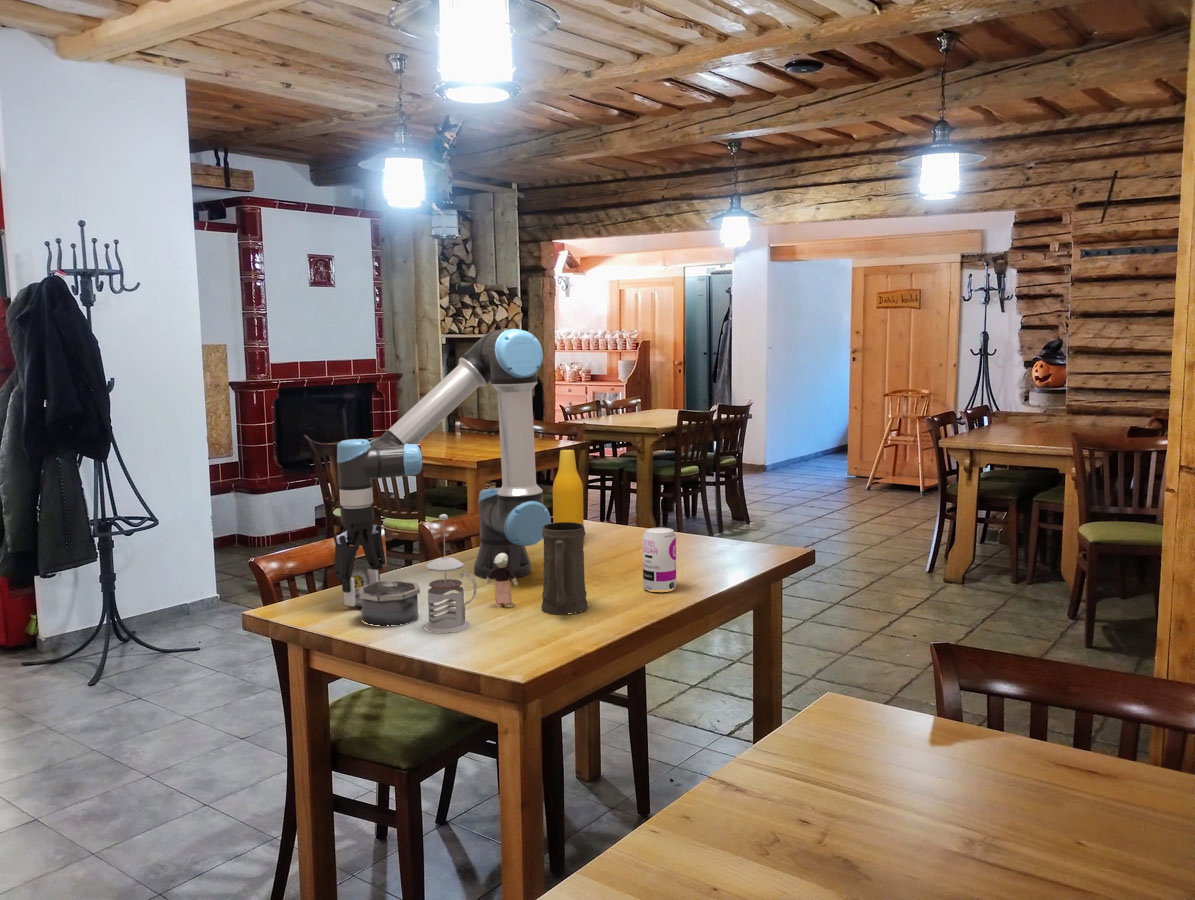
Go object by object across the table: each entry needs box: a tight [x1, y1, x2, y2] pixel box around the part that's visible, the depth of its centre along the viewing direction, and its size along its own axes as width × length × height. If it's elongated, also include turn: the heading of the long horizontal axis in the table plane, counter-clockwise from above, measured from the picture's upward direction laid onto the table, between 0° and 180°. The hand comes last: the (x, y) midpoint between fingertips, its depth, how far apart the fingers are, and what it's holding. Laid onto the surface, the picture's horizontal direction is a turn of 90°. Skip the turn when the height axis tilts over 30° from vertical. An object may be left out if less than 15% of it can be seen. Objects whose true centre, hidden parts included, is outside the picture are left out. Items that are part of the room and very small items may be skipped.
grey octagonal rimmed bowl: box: [359, 579, 421, 627], centre depth 215 cm, size 13×13×7 cm
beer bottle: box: [552, 449, 585, 545], centre depth 287 cm, size 9×9×29 cm
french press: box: [424, 513, 478, 634], centre depth 208 cm, size 10×12×25 cm
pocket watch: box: [351, 558, 369, 606], centre depth 226 cm, size 8×8×10 cm
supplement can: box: [642, 527, 677, 591], centre depth 236 cm, size 8×8×15 cm
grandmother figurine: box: [485, 553, 519, 608], centre depth 224 cm, size 8×4×13 cm, turn 91°
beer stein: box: [541, 522, 589, 615], centre depth 218 cm, size 15×11×20 cm
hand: (362, 600), depth 226 cm, fingers closed on pocket watch, 7 cm apart
